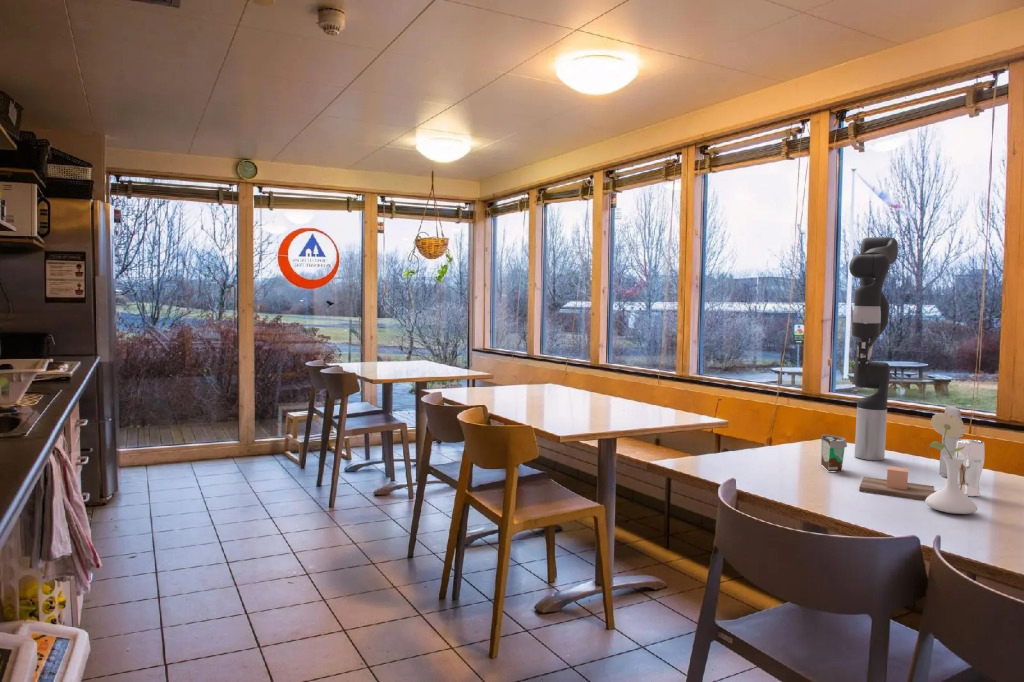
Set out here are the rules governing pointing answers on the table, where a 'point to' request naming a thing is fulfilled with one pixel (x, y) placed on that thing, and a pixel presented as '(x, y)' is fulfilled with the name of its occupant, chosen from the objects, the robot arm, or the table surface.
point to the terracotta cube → (897, 477)
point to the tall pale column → (948, 441)
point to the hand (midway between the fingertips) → (863, 374)
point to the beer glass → (970, 465)
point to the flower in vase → (950, 469)
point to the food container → (832, 452)
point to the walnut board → (881, 487)
